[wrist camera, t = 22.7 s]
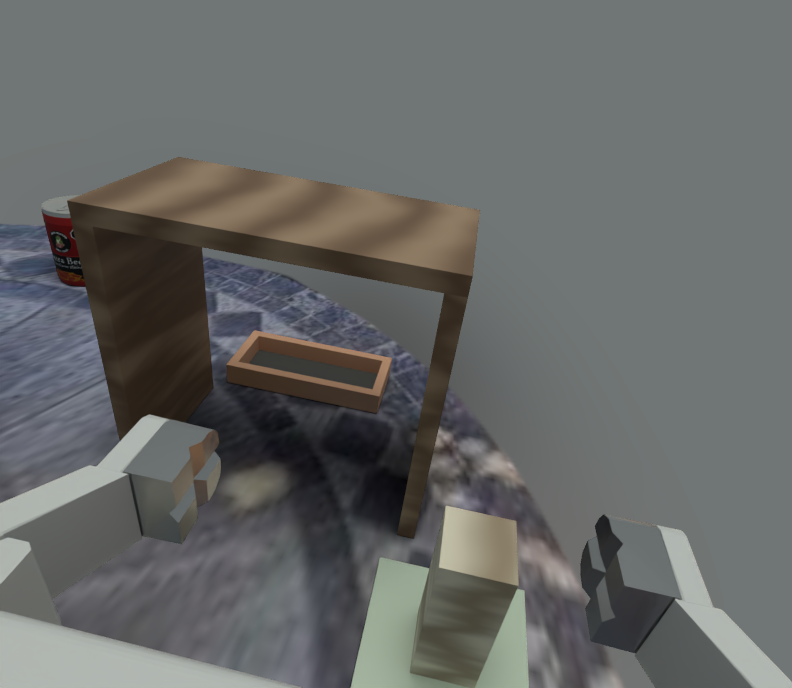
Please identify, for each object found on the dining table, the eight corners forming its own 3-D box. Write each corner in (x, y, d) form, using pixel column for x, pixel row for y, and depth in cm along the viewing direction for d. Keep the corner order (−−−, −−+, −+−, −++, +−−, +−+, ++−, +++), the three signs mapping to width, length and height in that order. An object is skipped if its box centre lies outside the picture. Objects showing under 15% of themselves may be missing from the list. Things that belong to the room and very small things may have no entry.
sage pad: (342, 724, 33) (343, 720, 33) (379, 561, 43) (380, 557, 43) (529, 773, 32) (532, 769, 32) (522, 594, 42) (524, 590, 42)
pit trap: (227, 382, 60) (226, 364, 59) (254, 346, 67) (254, 330, 66) (377, 413, 59) (379, 396, 58) (389, 374, 66) (391, 358, 64)
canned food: (45, 280, 75) (26, 206, 69) (86, 260, 81) (71, 191, 75) (93, 291, 74) (77, 217, 68) (129, 270, 80) (118, 201, 74)
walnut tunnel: (126, 472, 47) (66, 200, 34) (200, 385, 59) (178, 156, 46) (413, 538, 45) (472, 276, 32) (431, 433, 57) (479, 210, 44)
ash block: (409, 672, 35) (439, 567, 29) (418, 610, 39) (445, 505, 33) (474, 689, 35) (518, 585, 29) (476, 624, 39) (516, 521, 32)
